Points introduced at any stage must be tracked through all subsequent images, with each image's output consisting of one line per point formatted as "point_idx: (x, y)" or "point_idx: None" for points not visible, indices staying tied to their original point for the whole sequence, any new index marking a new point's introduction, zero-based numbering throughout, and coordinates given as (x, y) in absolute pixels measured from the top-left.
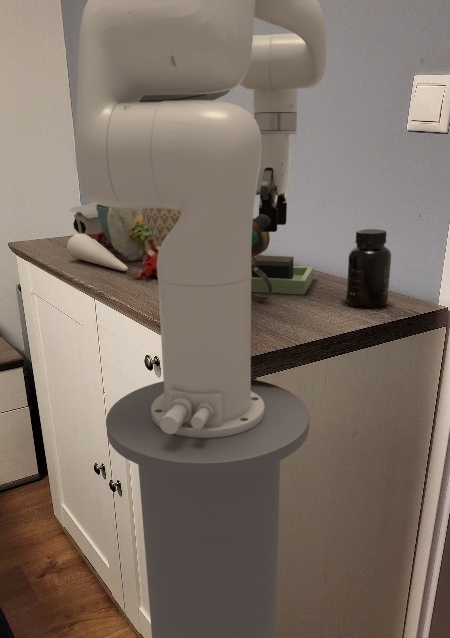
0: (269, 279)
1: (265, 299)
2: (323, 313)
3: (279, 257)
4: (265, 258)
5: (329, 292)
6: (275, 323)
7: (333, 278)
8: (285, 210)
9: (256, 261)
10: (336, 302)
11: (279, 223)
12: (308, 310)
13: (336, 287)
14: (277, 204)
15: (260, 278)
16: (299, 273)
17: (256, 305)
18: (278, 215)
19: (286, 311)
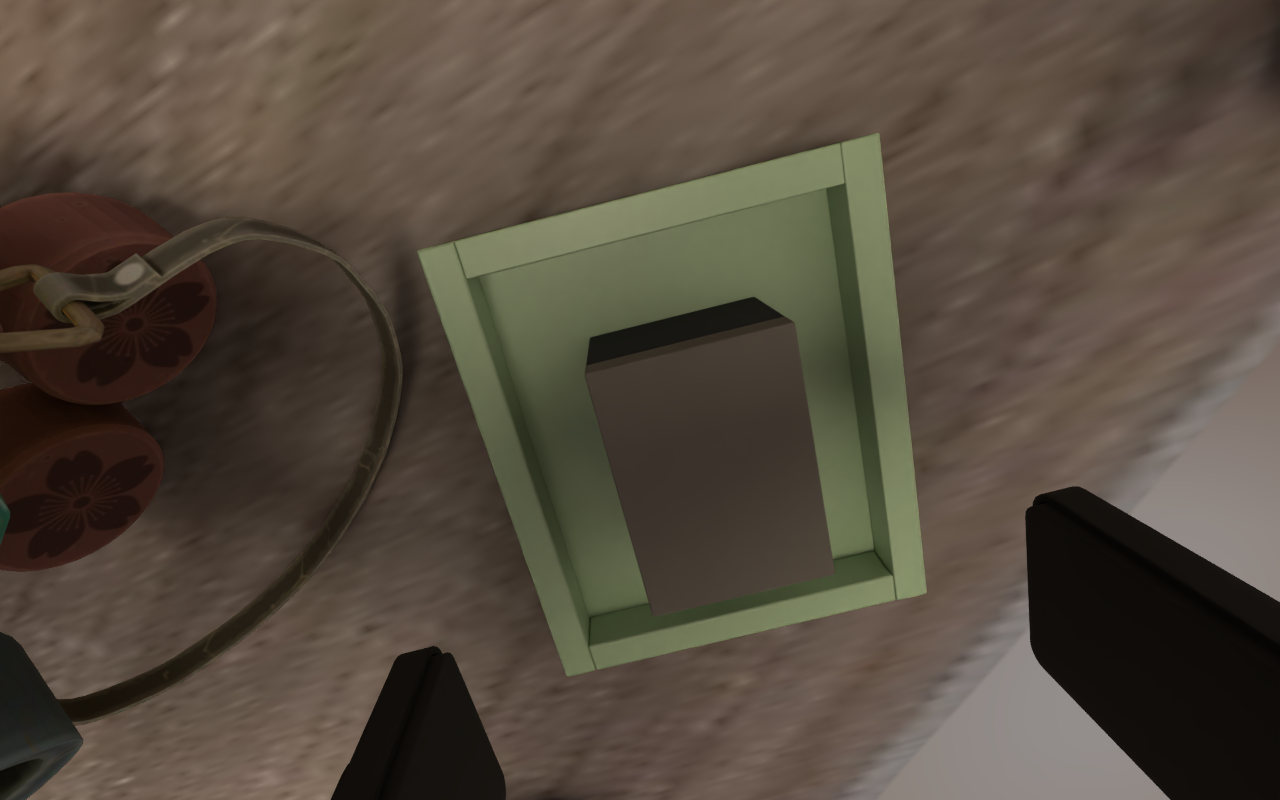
0: (507, 507)
1: (297, 558)
2: (328, 783)
3: (772, 506)
4: (701, 432)
5: (666, 695)
6: (72, 696)
7: (953, 621)
8: (1176, 795)
9: (595, 406)
10: (515, 769)
11: (1037, 607)
12: (333, 727)
13: (772, 689)
14: (1265, 790)
15: (497, 454)
16: (871, 514)
17: (263, 518)
18: (1113, 662)
19: (261, 665)
